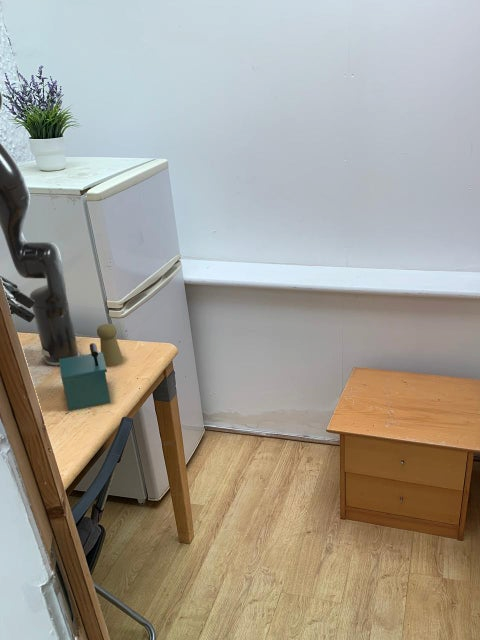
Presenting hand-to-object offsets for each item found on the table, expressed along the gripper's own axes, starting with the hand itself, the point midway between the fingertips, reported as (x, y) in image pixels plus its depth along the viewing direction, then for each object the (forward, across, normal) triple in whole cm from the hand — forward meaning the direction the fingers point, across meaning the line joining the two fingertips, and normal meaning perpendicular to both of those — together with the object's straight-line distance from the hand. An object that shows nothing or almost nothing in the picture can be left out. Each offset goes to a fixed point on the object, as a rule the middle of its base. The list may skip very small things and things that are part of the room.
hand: (32, 311), depth 140 cm
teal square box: (+23, 0, +12) cm, 26 cm away
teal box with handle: (+17, 0, +5) cm, 18 cm away
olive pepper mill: (+29, +18, +6) cm, 35 cm away
